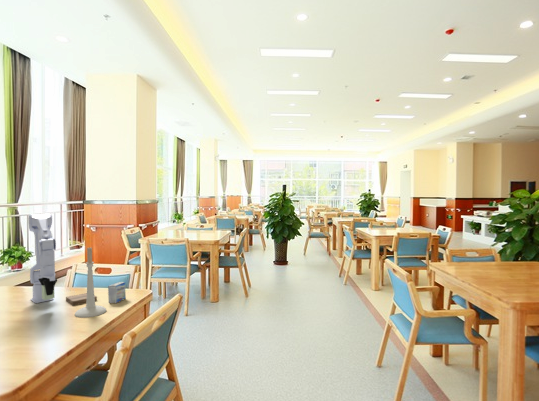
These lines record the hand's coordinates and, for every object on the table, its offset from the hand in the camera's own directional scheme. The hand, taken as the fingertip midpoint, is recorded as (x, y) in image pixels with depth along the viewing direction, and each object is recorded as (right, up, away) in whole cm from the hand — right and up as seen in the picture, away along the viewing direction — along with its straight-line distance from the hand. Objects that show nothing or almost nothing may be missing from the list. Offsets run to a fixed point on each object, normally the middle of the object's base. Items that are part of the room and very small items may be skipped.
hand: (48, 294), depth 163 cm
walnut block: (+7, -8, +15) cm, 19 cm away
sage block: (0, -2, 0) cm, 2 cm away
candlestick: (+21, -8, -3) cm, 23 cm away
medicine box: (+26, -8, +15) cm, 30 cm away
